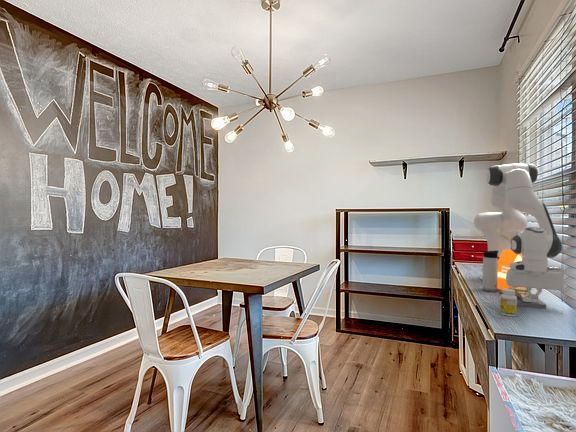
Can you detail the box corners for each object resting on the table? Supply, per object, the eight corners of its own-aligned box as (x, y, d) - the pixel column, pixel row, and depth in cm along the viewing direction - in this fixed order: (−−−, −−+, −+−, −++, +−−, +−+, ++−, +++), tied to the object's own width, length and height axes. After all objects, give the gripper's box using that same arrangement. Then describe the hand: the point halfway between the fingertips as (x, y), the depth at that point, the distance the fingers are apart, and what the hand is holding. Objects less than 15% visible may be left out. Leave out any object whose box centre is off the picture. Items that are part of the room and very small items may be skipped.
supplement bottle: (518, 317, 126) (519, 292, 126) (501, 315, 128) (502, 290, 128) (514, 313, 131) (515, 288, 131) (498, 311, 133) (499, 287, 133)
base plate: (499, 292, 164) (499, 289, 164) (529, 295, 159) (529, 292, 159) (512, 305, 142) (512, 301, 142) (546, 308, 138) (546, 305, 138)
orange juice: (508, 287, 175) (509, 249, 175) (525, 291, 167) (526, 251, 166) (497, 288, 173) (497, 249, 172) (512, 292, 164) (513, 251, 164)
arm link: (508, 290, 161) (509, 279, 161) (519, 291, 159) (520, 280, 159) (520, 301, 142) (521, 289, 141) (533, 303, 140) (533, 290, 140)
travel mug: (499, 292, 165) (500, 251, 165) (485, 291, 166) (486, 251, 166) (494, 289, 171) (495, 250, 171) (480, 288, 172) (481, 249, 172)
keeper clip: (508, 295, 152) (508, 286, 152) (526, 297, 150) (527, 288, 150) (510, 298, 148) (510, 288, 148) (529, 299, 146) (529, 290, 146)
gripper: (561, 266, 142) (560, 299, 142) (504, 263, 149) (504, 294, 149) (567, 269, 136) (566, 303, 136) (508, 265, 143) (507, 297, 143)
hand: (533, 298), depth 143 cm, fingers closed
